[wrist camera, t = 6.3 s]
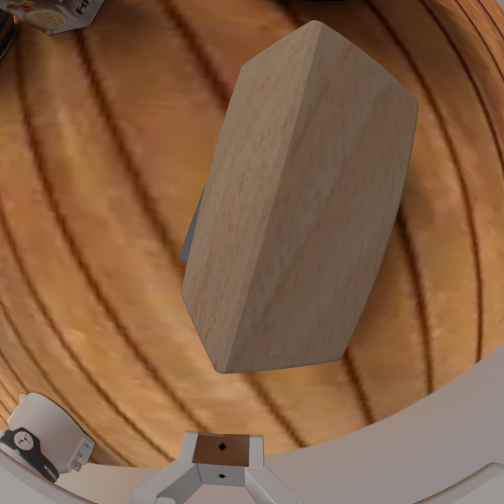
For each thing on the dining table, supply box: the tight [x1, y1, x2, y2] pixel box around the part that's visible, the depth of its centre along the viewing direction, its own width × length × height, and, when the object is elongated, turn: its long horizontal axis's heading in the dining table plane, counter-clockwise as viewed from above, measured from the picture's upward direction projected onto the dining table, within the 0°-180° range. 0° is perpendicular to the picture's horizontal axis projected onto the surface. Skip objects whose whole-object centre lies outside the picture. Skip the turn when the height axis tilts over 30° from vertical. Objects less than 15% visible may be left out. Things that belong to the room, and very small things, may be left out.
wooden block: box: [181, 20, 418, 374], centre depth 18 cm, size 10×10×20 cm
